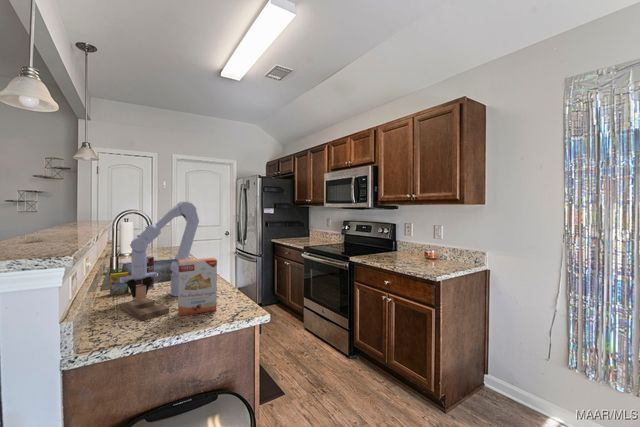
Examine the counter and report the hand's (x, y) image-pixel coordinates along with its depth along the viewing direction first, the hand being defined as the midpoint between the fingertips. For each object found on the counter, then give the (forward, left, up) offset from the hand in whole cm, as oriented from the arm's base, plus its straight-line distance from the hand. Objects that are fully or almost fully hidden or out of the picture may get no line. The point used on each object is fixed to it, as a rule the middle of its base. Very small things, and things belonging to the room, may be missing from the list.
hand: (139, 295), depth 133 cm
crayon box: (+2, -18, -2) cm, 18 cm away
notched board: (+4, +16, -2) cm, 17 cm away
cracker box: (-9, +33, -2) cm, 34 cm away
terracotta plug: (0, 0, -2) cm, 2 cm away
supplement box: (-8, -16, -2) cm, 18 cm away
